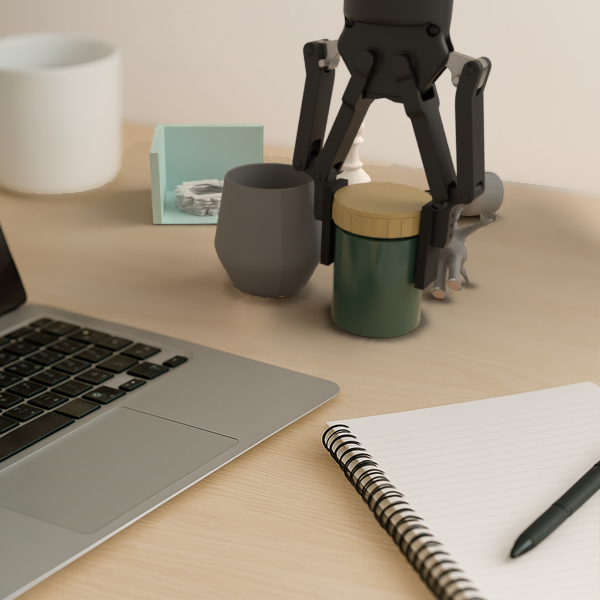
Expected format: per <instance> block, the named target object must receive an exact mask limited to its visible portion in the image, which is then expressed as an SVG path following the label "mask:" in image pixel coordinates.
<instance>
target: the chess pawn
mask: <svg viewBox="0 0 600 600" xmlns="http://www.w3.org/2000/svg"><path fill="white" fill-rule="evenodd" d="M365 126H366V125H365V121H364V120H363V122H362V124H361V126H360V129H359V131H358V133H357V135H356V137H355V140H354V142H353V144H352V146H351V148H350V151H349V153H348V155H347V157H346V159H345V162H344V164H343V166H342V168H341V170H340V171H342V170H344V171H343V172H342V173H341V174H339V175H337V179H339V178H343V179H348V185H352V184H358V183H368V182H371V181H372V179H371V177H370V175H369V174H368V173H367V172H366V171H365V170H364V169H363V166H364V163H363V162H362V161H361V160H360V158H359V145H360V144H363V143H364V142H365V141H364V138H363V137H362V136H361V135H363V133H364V131H365Z"/></svg>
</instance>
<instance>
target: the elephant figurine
mask: <svg viewBox="0 0 600 600" xmlns="http://www.w3.org/2000/svg"><path fill="white" fill-rule="evenodd" d="M462 211H463V208H462V207H460V208H457V210H456V218H455V225H454V226H455V227H454V235H453V239H452V241H451V242H450V244H448V245H447V246H446V247H445V248H443V249H442V248H440V254H439V263H438V273H437V279H436V280H434V281H433V283H432V289H431V290H430V293H431V294H432V296H433V297H434V298H435V299H438V300H445V299H446V296H447V287H448V288H449V289H450V290H452V291H461V290H462V278H463V279H464V281H465V283H466V284H467V285H470V281H469V277H468V273H467V271H466V268H465V263H466V262H467V259H468V250H467V247H466V245H465V243H466V239H467V238H468V237H469V236H470V235H472V234H473V233H474V232H476V231H478V230H479V229H481V228H484V227H486V226H488V225H490V224H491V223H493V222H495V221H497V219H498V215H497V214H496V212H495V213H493V212H491V213H490V214H485V215H482V214H481V213H479V214H480V215H479V221H478V222H475V223H473V224H469V225H466V226H463V227H460V228H458V220H459V218H460V216H461V215H460V213H461V212H462ZM447 273H448V274H447ZM447 275H448V277H447Z"/></svg>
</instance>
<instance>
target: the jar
mask: <svg viewBox="0 0 600 600" xmlns="http://www.w3.org/2000/svg"><path fill="white" fill-rule="evenodd" d="M418 243H419V234H418V235H414V236H410V237H401V238H377V237H368V236H363V235H359V234H354V233H351V232H349V231H346V230H344V229H342V228H340V227H339V226H338V225H337V224H336V223H335V241H334V262H333V263H332V264H333V266H332V287H331V288H332V289H331V291H332V292H331V315H330V317H331V319H332V321H333V323H334V324H335V325H336V326H337V327H338V328H340V329H342V330H344V331H345V332H348V333H350V334H353V335H357V336H359V337H361V336H362V337H366V338H375V339H376V338H377V339H384V338H385V339H387V338H394V337H400V336H404V335H407V334H409V333H411V332H413V331H414V330H416V329H417V328H418V326H419V324H420V322H421V312H422V301H423V291H424V290H420V289H416V288H414V284H415V274H416V264H417V254H418Z"/></svg>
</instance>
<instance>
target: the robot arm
mask: <svg viewBox="0 0 600 600" xmlns="http://www.w3.org/2000/svg"><path fill="white" fill-rule="evenodd" d="M454 1H455V0H343V5H342V6H343V9H342V12H343V13H342V14H343V18H344V25H343V29H342V31H341V33H340V34H339V36H338V38H337V39H329V38H322V39H317V40H312V41H308V42H306V43H305V44H304V45H303V47H302V55H303V63H304V69H305V79H304V86H303V93H302V99H301V104H300V110H299V117H298V124H297V129H296V136H295V141H294V148H293V155H292V160H291V161H292V162H291V163H292V165H293V168H294V169H295V170H296V171H299V172H301V171H303V172H305V173H307V174H308V175H310V176H311V177H312V179H313V180H314V209H313V214H314V217H315V220H318V221H322V232H321V255H320V263H319V265H323V266H326V267H329V266H330V265H332V264H334V241H335V222H334V219H332V211H333V202H334V194H335V192H336V191H337V190H339V189H341V188H342V187H345V186H348V179H343V178H339V179H337V175H339V174H341V173H342V172H343V171H344V170H342V171H340V170H341V168H342V166H343V164H344V162H345V159H346V157H347V155H348V153H349V151H350V148H351V146H352V144H353V142H354V140H355V137H356V135H357V133H358V131H359V129H360V126H361V124H362V122H363V121H364V120H365V117H366V115H367V114H368V112H369V109H370V106H372V104H373V103H374V101H375V100H380V99H381V100H382V99H387V100H388V101H390V102H392V103H396V104H403V108H404V112H405V115H406V117H407V118H408V119H409V120H410V122H411V125H412V130H413V134H414V138H415V140H416V144H417V148H418V152H419V156H420V159H421V163H422V167H423V170H424V174H425V179H426V182H427V185H428V190H430V193H431V196H432V200H431V201H430V202H428V203H427V204H425V205H424V206H422V213H421V223H420V233H419V243H418V254H417V264H416V274H415V284H414V288H416V289H420V290H423V291H424V290H425V289H427V288H428V287H430V285H431V284H433V283H434V280H436V279H437V273H438V263H439V254H440V248H442V249H443V248H445V247H446V246H447V245H448V244H450V242H451V241H452V239H453V235H454V227H455V226H454V225H455V218H456V210H457V205H459V204H465V205H467V204H470V203H472V202H473V201H474V200H476V199H477V198H478V197H479V196H481V195H482V194H483V193H484V191H485V172H486V171H485V170H486V161H485V159H486V158H485V156H486V155H485V99H484V97H485V96H484V95H485V94H484V93H485V89H486V86H487V83H488V80H489V77H490V73H491V70H492V65H493V64H492V61H491V59H490V58H488V57H487V56H480V57H472V56H470V55H467V54H465V53H461V52H458V51H456V50H455V47H454V44H453V42H452V38H451V26H452V25H451V24H452V20H453V11H454V10H453V9H454ZM341 60H342V61H343V63H344V65H345V67H346V68H347V71H348V73H349V74H350V77H349V79H348V82H347V84H346V86H345V89H344V91H343V94H342V97H341V104H340V107H339V110H338V111H337V114H336V116H335V119H334V121H333V124H332V125H331V128H330V131H329V133H328V135H327V137H326V130H327V125H328V120H329V119H328V118H329V115H330V114H329V113H330V108H331V103H332V98H333V91H334V87H335V86H334V85H335V80H336V69H337V68H338V66H339V65H340V62H341ZM447 69H448V70H449V71H450V75H451V79H450V80H451V84H452V86H453V87H454V88H456V90H455V94H454V127H455V128H454V129H455V161H456V170H455V165H454V162H453V158H452V154H451V150H450V147H449V142H448V139H447V136H446V130H445V127H444V124H443V120H442V116H441V113H440V106H441V105H440V104H441V101H440V97H439V94H438V89H437V85H436V82H437V81H438V80H439V78H440V77H441V76H442V75H443V74H444V73H445V71H446V70H447ZM325 137H326V140H325ZM324 141H325V142H324ZM456 175H457V176H456Z"/></svg>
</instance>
